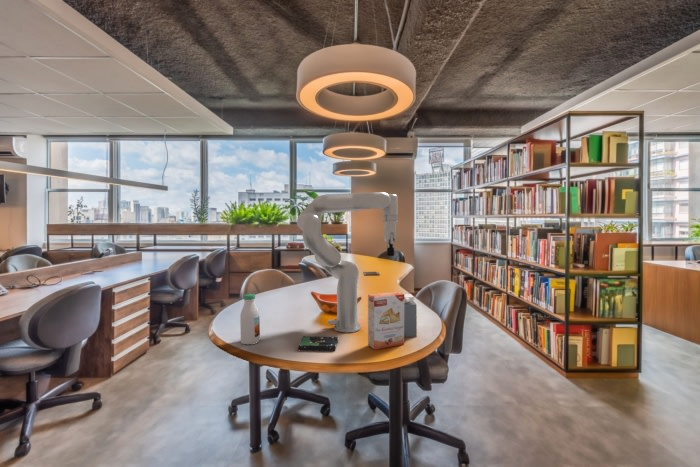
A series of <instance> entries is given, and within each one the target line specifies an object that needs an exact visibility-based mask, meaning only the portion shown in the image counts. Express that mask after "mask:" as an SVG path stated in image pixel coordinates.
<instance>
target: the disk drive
mask: <svg viewBox="0 0 700 467" xmlns="http://www.w3.org/2000/svg"><path fill="white" fill-rule="evenodd" d="M338 343H339V337H338V336H316V335H315V336H310V335H308V336H306V335H305V336H302V337H301V339H300V341H299V343H298V344H297V351H298V350H300V351H299V352H336V350H337V346H338Z"/></svg>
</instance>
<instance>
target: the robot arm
mask: <svg viewBox="0 0 700 467" xmlns="http://www.w3.org/2000/svg"><path fill="white" fill-rule="evenodd" d="M398 200H399V197H398V195H397V194H396V193H387V192H385V191H379V192H378V191H377V192H375V191H373V192H352V193H351V192H350V193H349V192H348V193H326V194H325V193H324V194H322V195H318V196H316V197H315V198H314V199H313V200H312V201H311V202H310V203H309V205H308V206H307V207H306V208H305V209H303V211H302V212H301V213H300V214H299V215H298V217H297V219H296V225H297V227H298V229H299V230H301V231H302V234H301V235H302V240H303V243H304V245H305V246H306V247H307V249H308V250H309V251H310V252H311V253H312V254H313V255H314V260H315V261H316V262H317V264H318V265H320V267H322V268H323V269H324V270H325V271H326V272H327V273H328V274H329V275H330V276H331V277H333V278H334V279H337V280H338V281H337V286H336V318H334V319H327V324H328V325H330V326H333V329H334V330H335V331H337V332H340V333H355V332H358V331H360V330H361V328H362V325H361V324H360V323H358V322H359V321H358V283H359V282H358V280H359V273H360V272H359V269H358V266H357V265H356V264H355V263H353V262H352V261H349V260H344V259H342V255H341V252H340V251H339V250H338V248H336V247H335V246H334V245H333V244H331V243H330V242H329V241H328V240H327V239H326V238H325V236H323V234H322V229H321V228H322V219H321V218H322V217H323V216H324V215H325V214H331V213H332V214H333V213H334V214H335V213H345V212H346V213H347V212H350V213H351V212H358V211H363V210H378V209H382V223H384V226H383V227H384V228H383V229H384V230H383V241H384V242H385V243H386V245H387V247H386V255H387V257H394V256H395V245H394V244H395V242H396V241H397V224H396V223H398V222H399V215H398V214H399V210H398V209H399V206H398V204H399V201H398Z"/></svg>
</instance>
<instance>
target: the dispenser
mask: <svg viewBox="0 0 700 467" xmlns="http://www.w3.org/2000/svg"><path fill="white" fill-rule="evenodd" d="M417 314H418V313H417V303H416V302H415V300H414V301H410V302H408V303H404V338H406V337H409V338H410V337H413V338H414V337H415V338H417V335H418V331H417V329H418V328H417V327H418V326H417V323H418V322H417Z"/></svg>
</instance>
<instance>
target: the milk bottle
mask: <svg viewBox="0 0 700 467" xmlns="http://www.w3.org/2000/svg"><path fill="white" fill-rule="evenodd" d="M243 301H244V303H243V306H242V309H241V311H240V318H239V319H240V320H239V321H240V343H241V344H242V343H243V344H242V345H244V344H251V345H254V344H253V343H255V344H257V343H256V342H258V341H259V340H261V330H260V329H261V326H260V322H261V321H260V311H259V309H258V307H257V304H256V294H255V293H247V294H243ZM259 342H260V341H259ZM259 342H258V343H259Z"/></svg>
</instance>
